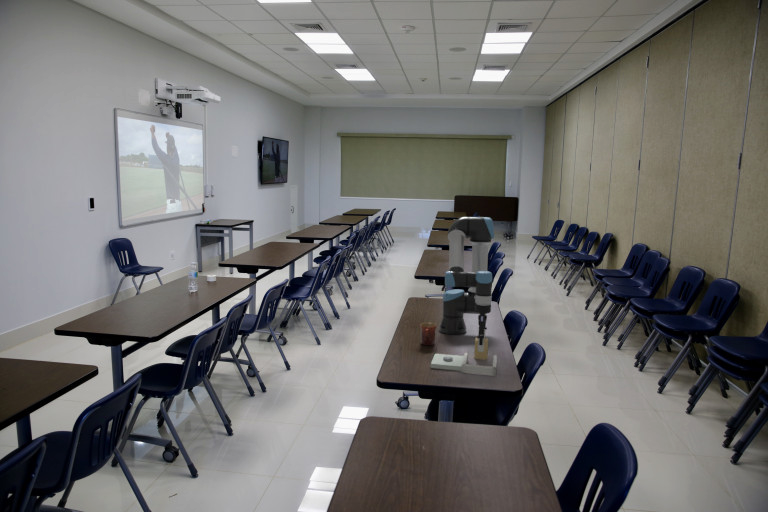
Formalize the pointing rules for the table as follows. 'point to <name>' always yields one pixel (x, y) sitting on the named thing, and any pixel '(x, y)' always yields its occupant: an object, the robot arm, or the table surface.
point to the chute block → (481, 354)
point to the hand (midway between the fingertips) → (481, 347)
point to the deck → (462, 364)
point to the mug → (428, 333)
